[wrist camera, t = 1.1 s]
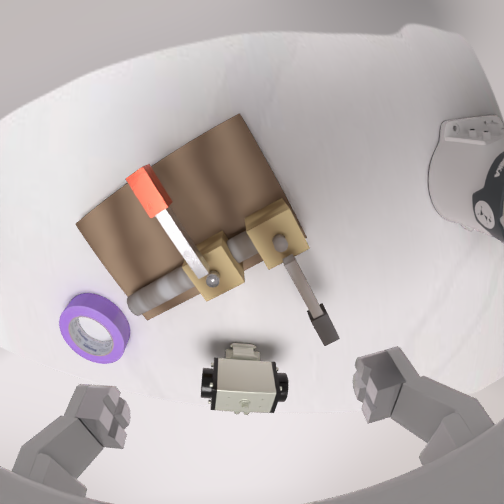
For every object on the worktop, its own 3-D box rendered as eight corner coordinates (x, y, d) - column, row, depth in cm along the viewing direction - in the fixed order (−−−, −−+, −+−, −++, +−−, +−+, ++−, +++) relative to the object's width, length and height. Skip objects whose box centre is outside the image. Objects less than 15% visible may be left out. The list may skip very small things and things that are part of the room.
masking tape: (144, 337, 44) (138, 353, 40) (98, 356, 45) (92, 371, 41) (99, 281, 39) (89, 294, 36) (57, 307, 41) (47, 320, 37)
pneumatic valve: (206, 335, 44) (200, 395, 33) (280, 341, 45) (292, 399, 34) (204, 360, 46) (199, 418, 35) (273, 365, 47) (283, 422, 36)
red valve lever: (150, 163, 26) (142, 166, 24) (224, 277, 32) (223, 290, 29) (135, 174, 27) (125, 178, 24) (208, 285, 32) (207, 298, 29)
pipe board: (239, 114, 32) (241, 106, 22) (330, 289, 42) (354, 330, 32) (81, 219, 35) (43, 247, 26) (188, 356, 45) (181, 403, 36)
